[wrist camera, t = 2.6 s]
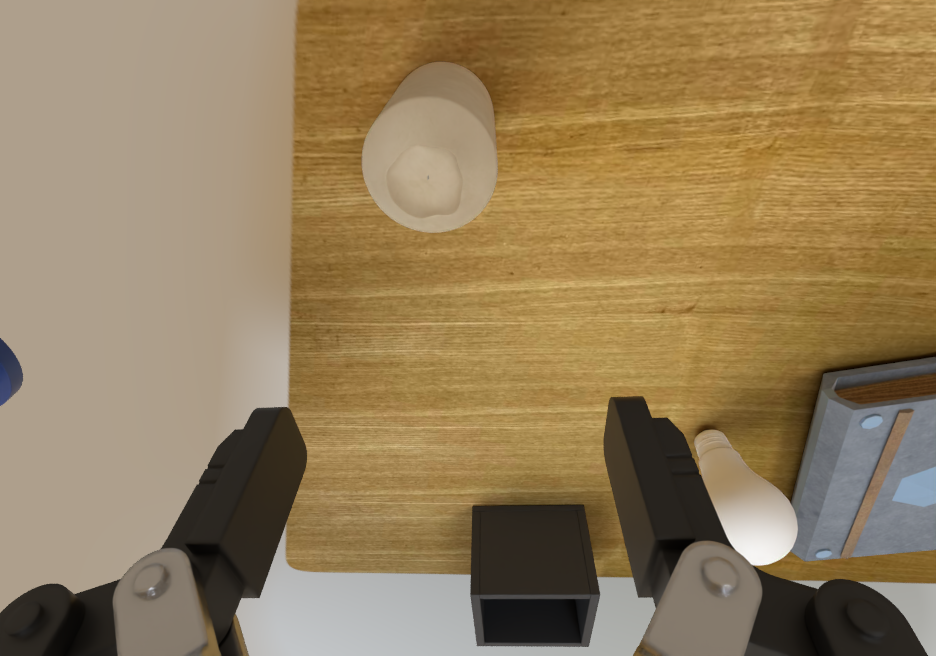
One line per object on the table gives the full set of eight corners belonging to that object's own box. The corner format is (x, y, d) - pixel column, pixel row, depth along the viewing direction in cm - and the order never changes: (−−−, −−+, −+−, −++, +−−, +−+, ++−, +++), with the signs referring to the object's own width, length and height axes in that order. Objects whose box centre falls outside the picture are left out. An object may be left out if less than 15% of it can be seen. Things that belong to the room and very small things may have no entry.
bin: (477, 561, 55) (476, 646, 48) (472, 505, 49) (470, 595, 42) (575, 561, 55) (588, 646, 48) (583, 504, 48) (600, 594, 41)
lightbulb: (750, 442, 42) (821, 570, 33) (679, 463, 44) (728, 589, 35) (736, 398, 38) (810, 526, 30) (659, 422, 40) (708, 549, 32)
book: (807, 371, 37) (847, 421, 33) (1064, 333, 34) (1141, 382, 30) (773, 521, 49) (799, 571, 45) (959, 502, 46) (1004, 553, 42)
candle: (445, 33, 24) (425, 69, 16) (515, 121, 26) (528, 189, 18) (372, 113, 26) (323, 178, 18) (442, 186, 29) (426, 272, 21)
